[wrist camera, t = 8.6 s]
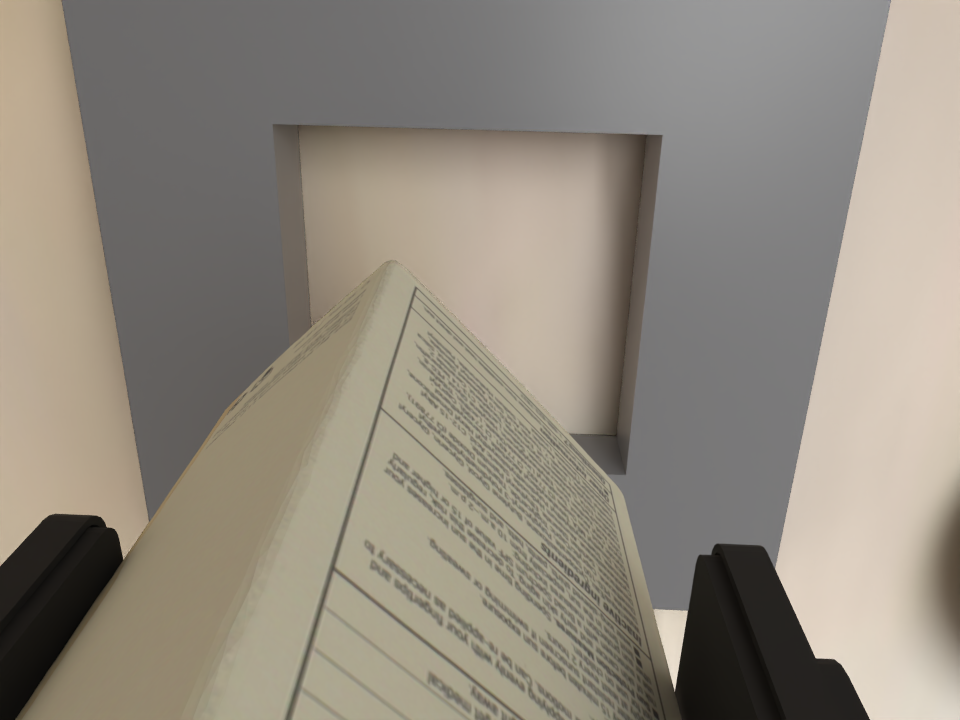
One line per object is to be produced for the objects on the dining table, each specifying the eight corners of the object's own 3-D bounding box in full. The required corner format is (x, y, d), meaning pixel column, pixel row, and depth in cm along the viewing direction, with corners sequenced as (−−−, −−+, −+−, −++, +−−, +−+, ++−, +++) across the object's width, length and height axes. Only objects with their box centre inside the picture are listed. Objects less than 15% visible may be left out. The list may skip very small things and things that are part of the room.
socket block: (96, -88, 21) (44, -103, 19) (864, -73, 20) (908, -86, 18) (188, 541, 29) (160, 586, 26) (745, 565, 28) (765, 614, 26)
